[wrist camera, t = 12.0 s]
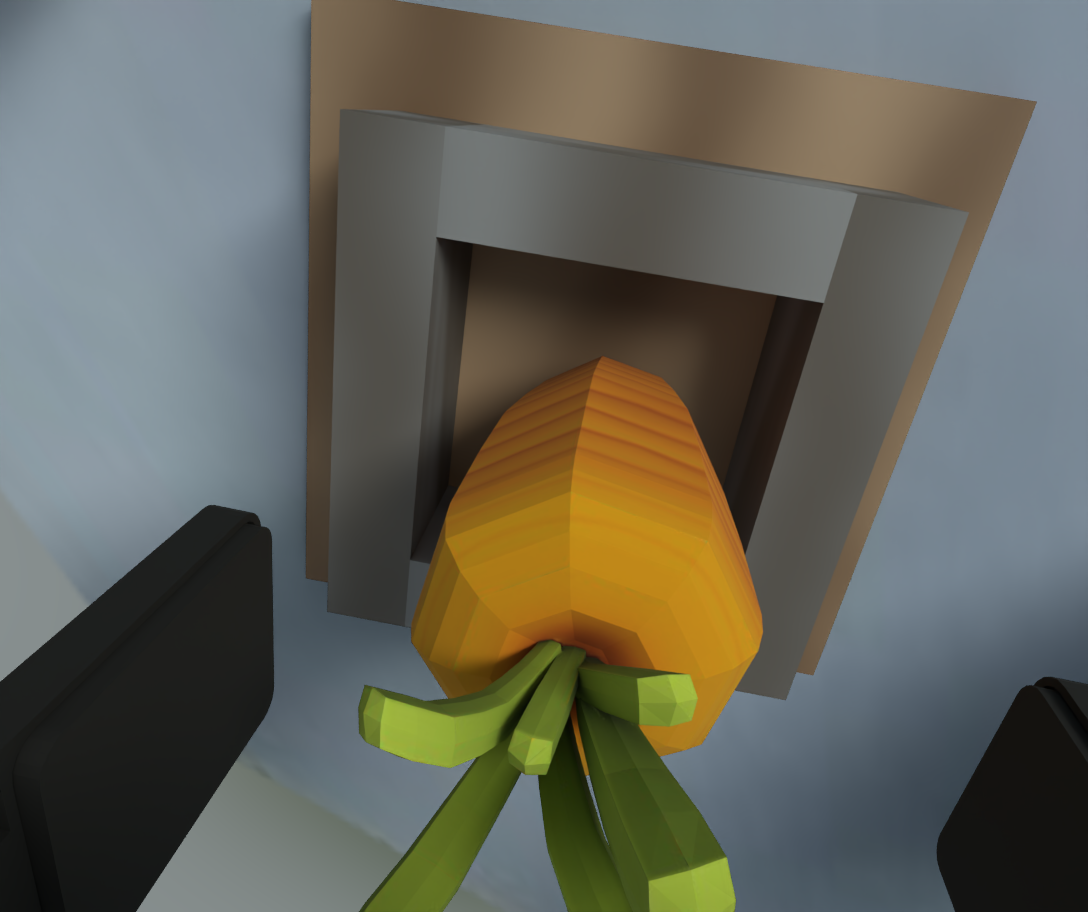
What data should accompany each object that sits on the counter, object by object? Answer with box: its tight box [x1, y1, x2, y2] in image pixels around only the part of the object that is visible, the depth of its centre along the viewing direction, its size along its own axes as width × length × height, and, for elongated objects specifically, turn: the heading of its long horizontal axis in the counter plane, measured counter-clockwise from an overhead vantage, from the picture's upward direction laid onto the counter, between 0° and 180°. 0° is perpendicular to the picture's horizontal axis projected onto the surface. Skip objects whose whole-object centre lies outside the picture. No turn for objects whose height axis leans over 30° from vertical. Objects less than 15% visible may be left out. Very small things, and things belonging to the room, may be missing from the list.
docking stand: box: [306, 0, 1037, 700], centre depth 18 cm, size 16×16×5 cm
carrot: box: [358, 356, 763, 912], centre depth 13 cm, size 5×5×15 cm
